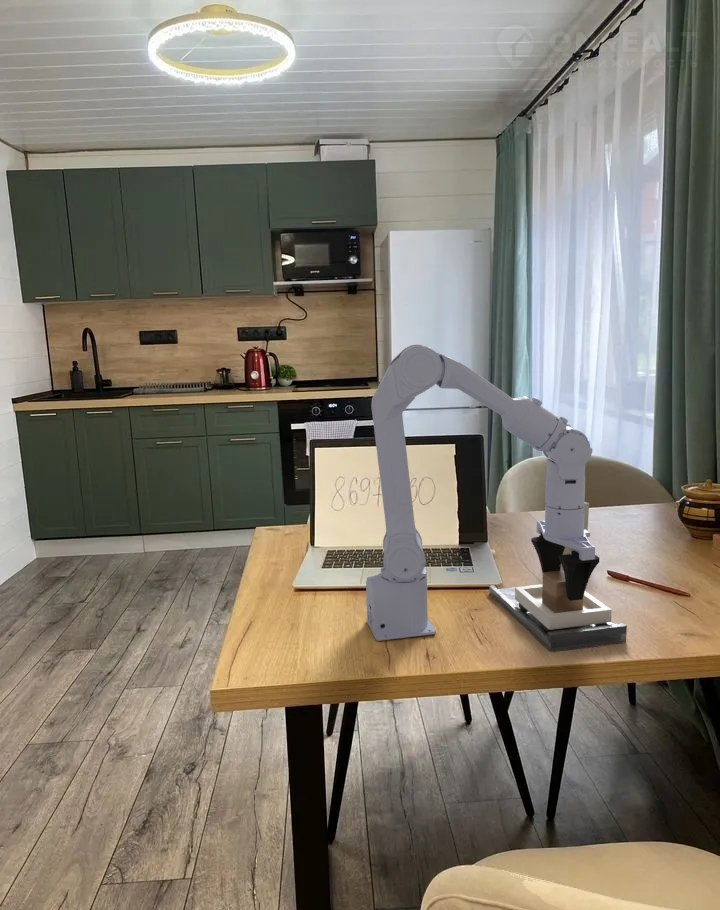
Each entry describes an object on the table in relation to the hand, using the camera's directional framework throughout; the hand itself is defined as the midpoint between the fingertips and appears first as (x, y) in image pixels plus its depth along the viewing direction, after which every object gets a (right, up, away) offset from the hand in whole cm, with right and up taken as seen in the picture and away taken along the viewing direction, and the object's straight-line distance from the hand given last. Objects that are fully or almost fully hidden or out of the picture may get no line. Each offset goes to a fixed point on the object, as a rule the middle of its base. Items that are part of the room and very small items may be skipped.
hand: (562, 589), depth 104 cm
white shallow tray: (0, -6, +2) cm, 6 cm away
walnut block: (0, -3, +1) cm, 3 cm away
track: (0, -5, +4) cm, 7 cm away
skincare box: (+11, 0, +31) cm, 32 cm away
